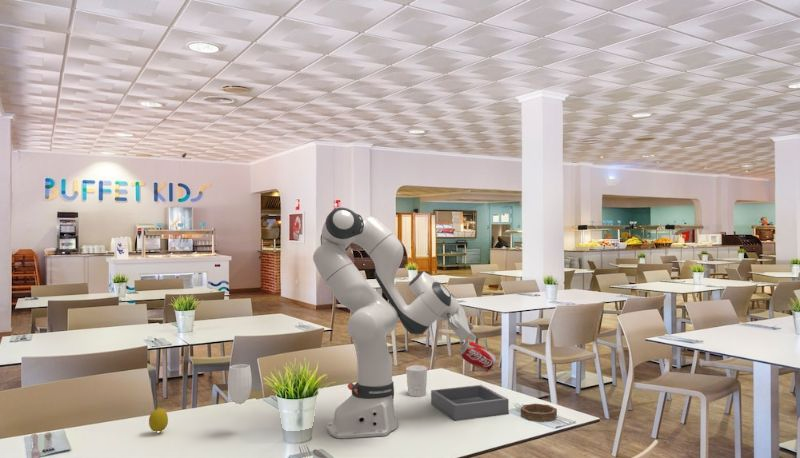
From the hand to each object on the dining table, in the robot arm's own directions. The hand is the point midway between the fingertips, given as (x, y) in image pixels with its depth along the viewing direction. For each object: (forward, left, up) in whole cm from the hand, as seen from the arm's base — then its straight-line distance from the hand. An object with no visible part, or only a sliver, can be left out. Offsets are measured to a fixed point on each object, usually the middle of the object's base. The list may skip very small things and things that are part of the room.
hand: (473, 333), depth 213 cm
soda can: (+7, 0, -12) cm, 14 cm away
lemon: (-104, +11, -26) cm, 108 cm away
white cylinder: (-13, +22, -26) cm, 36 cm away
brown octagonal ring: (+15, -18, -26) cm, 35 cm away
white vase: (-80, +2, -26) cm, 84 cm away
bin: (-3, -2, -26) cm, 26 cm away
